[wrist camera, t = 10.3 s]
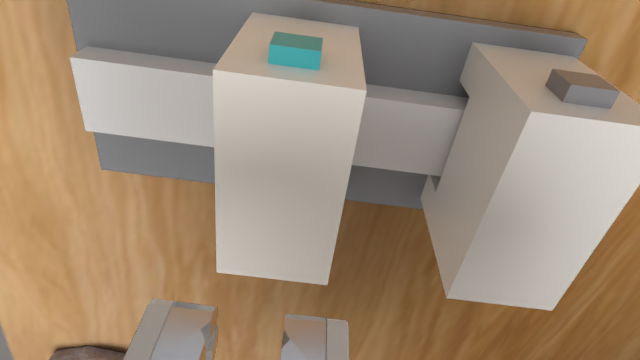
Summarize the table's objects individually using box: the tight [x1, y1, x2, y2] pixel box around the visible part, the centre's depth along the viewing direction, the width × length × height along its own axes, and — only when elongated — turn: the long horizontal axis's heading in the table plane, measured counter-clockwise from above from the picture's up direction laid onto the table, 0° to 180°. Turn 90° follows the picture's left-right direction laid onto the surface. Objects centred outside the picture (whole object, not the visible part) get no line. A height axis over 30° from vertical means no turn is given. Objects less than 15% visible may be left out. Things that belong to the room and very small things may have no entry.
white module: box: [213, 12, 367, 285], centre depth 17 cm, size 4×9×7 cm, turn 173°
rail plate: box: [67, 0, 587, 209], centre depth 20 cm, size 22×10×2 cm, turn 83°
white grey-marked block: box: [421, 42, 640, 310], centre depth 18 cm, size 4×9×7 cm, turn 173°
